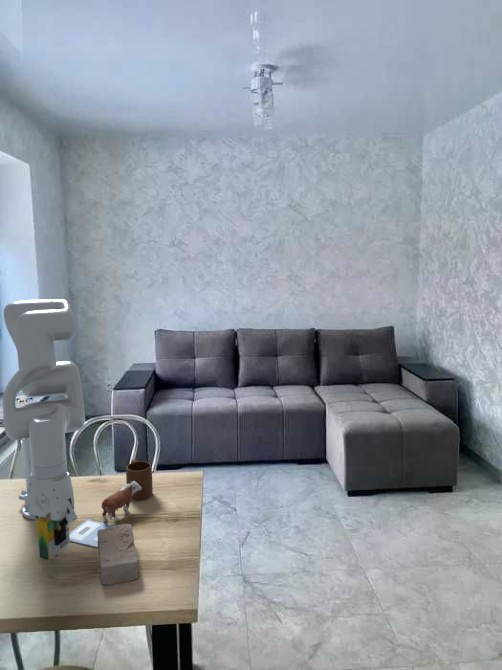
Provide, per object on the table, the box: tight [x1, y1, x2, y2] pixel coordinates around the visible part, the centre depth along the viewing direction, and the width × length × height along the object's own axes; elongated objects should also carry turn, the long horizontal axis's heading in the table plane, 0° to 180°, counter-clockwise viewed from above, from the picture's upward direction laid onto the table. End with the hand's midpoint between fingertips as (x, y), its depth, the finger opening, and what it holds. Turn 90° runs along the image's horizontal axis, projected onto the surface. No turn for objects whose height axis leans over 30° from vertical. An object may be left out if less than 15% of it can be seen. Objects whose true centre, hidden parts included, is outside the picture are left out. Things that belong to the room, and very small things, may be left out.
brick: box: [97, 523, 140, 586], centre depth 120 cm, size 17×8×5 cm, turn 19°
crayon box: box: [36, 514, 71, 561], centre depth 119 cm, size 7×3×12 cm, turn 160°
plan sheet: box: [69, 519, 116, 549], centre depth 132 cm, size 14×10×1 cm
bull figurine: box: [101, 481, 142, 523], centre depth 142 cm, size 4×13×8 cm, turn 146°
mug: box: [125, 458, 154, 502], centre depth 155 cm, size 12×8×9 cm, turn 26°
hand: (54, 539), depth 120 cm, fingers closed on crayon box, 3 cm apart
